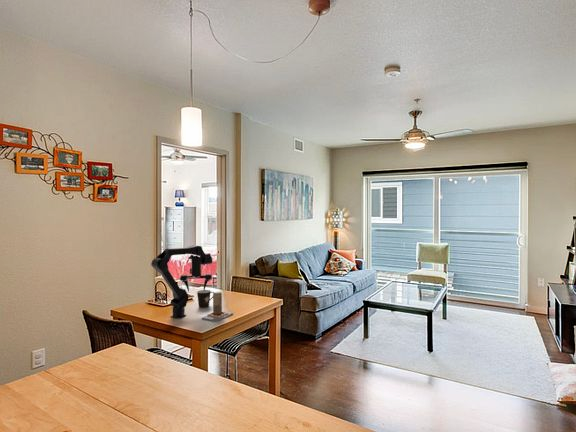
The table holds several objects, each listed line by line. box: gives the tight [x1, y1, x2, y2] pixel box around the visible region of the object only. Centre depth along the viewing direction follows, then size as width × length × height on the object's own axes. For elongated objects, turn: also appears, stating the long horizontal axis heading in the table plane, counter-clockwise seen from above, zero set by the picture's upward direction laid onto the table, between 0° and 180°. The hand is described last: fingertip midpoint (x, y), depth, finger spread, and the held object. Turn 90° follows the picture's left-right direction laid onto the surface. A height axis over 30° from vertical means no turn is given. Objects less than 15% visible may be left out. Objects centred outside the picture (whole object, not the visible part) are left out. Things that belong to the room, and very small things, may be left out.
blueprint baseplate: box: [201, 310, 234, 323], centre depth 205 cm, size 16×11×2 cm, turn 154°
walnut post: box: [212, 291, 223, 316], centre depth 205 cm, size 5×5×13 cm
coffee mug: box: [196, 289, 215, 309], centre depth 227 cm, size 12×9×10 cm
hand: (196, 291), depth 214 cm, fingers open, 9 cm apart
